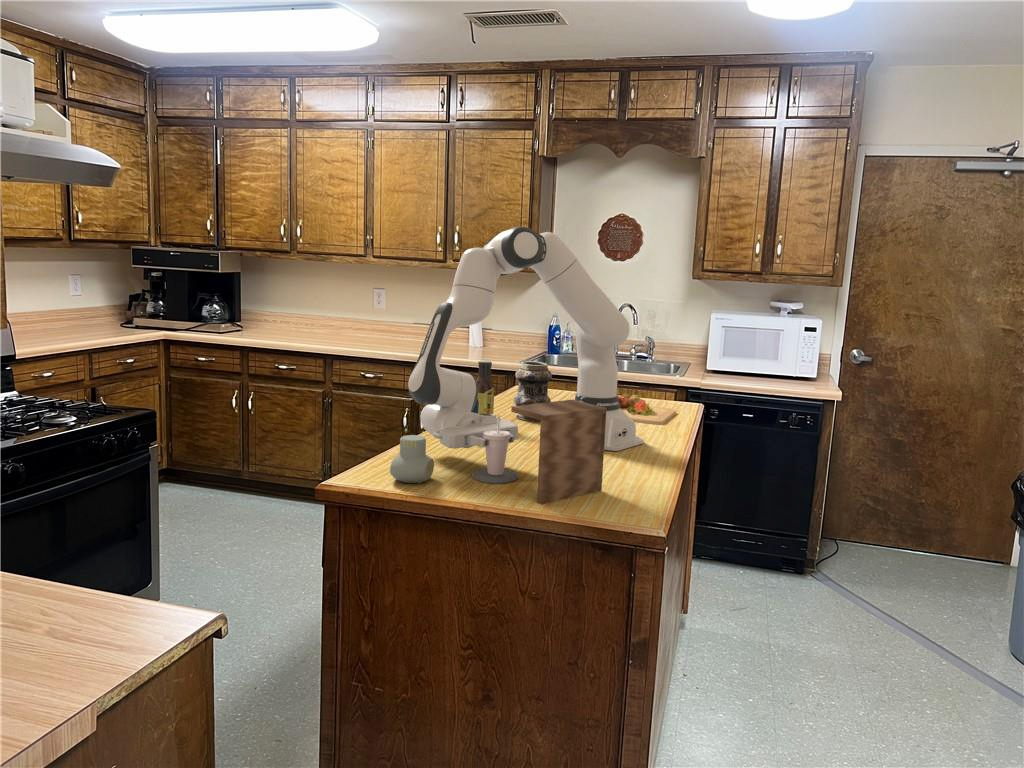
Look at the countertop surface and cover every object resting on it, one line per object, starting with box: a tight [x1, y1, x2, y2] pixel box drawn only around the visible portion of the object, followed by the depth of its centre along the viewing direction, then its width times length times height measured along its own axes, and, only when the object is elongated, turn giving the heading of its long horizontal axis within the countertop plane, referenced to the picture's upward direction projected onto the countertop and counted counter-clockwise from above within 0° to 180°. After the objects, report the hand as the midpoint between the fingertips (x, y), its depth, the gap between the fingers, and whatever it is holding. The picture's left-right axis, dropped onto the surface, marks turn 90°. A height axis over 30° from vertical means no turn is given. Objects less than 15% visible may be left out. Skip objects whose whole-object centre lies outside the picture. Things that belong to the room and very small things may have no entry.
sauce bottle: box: [475, 360, 495, 414], centre depth 238 cm, size 7×6×20 cm
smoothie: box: [483, 414, 510, 475], centre depth 185 cm, size 6×6×14 cm
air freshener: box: [389, 434, 435, 484], centre depth 180 cm, size 11×8×10 cm
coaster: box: [471, 467, 520, 485], centre depth 186 cm, size 11×11×1 cm
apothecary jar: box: [513, 360, 553, 422], centre depth 253 cm, size 12×12×18 cm
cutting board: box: [617, 393, 677, 425], centre depth 268 cm, size 35×23×8 cm
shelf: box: [510, 399, 607, 505], centre depth 176 cm, size 18×11×19 cm, turn 128°
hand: (498, 441), depth 184 cm, fingers closed on smoothie, 6 cm apart
